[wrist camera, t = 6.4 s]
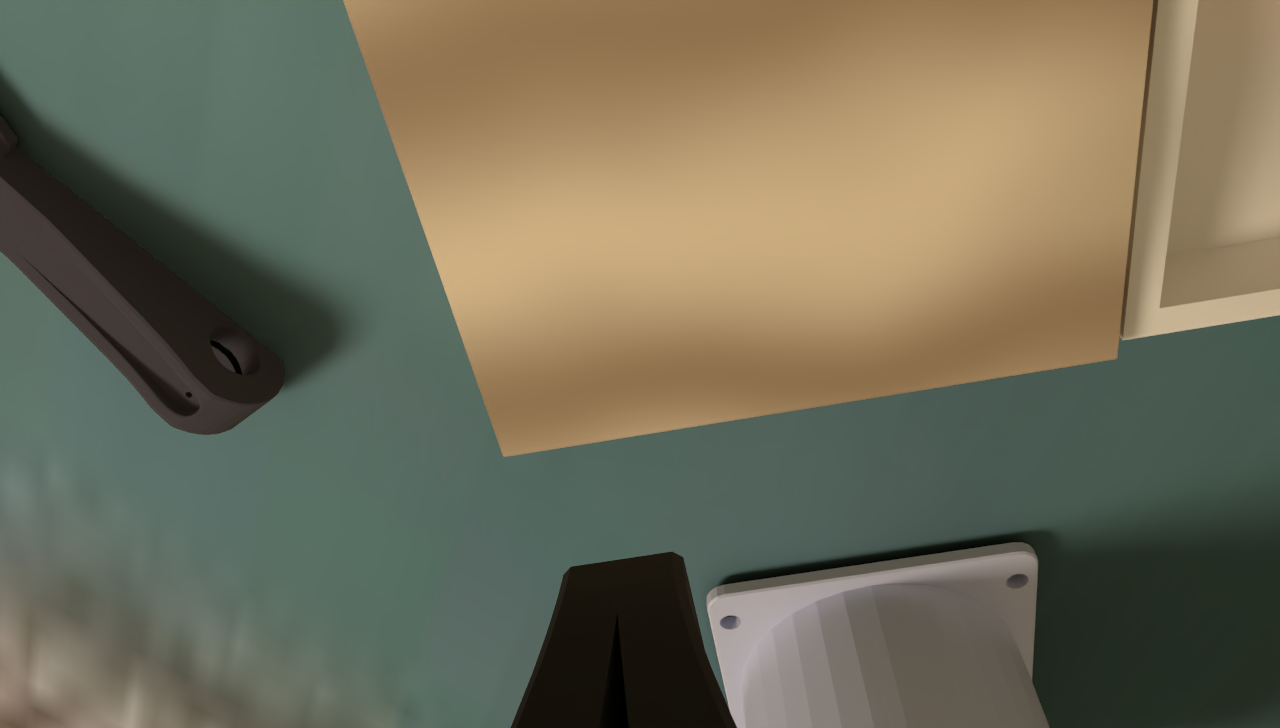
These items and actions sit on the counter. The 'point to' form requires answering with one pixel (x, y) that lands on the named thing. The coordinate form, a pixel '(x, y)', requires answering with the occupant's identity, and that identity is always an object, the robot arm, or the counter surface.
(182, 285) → the bracket
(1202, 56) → the tray
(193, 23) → the counter surface
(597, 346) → the large beige panel
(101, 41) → the counter surface
